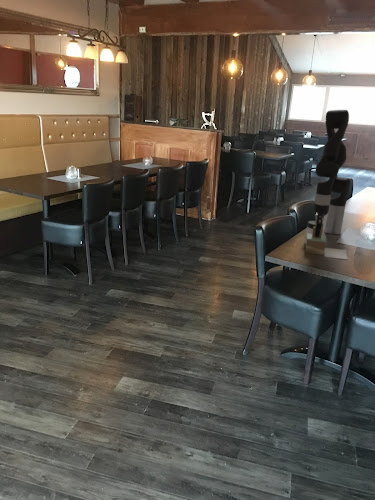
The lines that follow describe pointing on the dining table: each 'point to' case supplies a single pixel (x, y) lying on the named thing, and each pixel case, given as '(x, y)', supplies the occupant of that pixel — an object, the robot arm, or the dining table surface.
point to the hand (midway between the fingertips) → (316, 235)
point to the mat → (335, 253)
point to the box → (315, 247)
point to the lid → (312, 237)
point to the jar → (310, 229)
